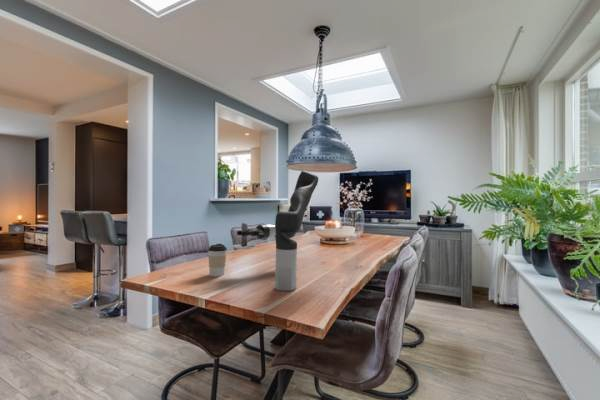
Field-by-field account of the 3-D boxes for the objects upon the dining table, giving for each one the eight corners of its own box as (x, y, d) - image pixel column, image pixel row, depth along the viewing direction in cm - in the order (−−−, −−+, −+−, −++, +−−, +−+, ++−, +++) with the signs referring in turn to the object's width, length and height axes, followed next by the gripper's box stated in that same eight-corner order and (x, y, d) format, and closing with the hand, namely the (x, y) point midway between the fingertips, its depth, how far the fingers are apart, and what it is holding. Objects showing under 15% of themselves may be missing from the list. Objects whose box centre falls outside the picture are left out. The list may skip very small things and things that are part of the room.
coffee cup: (223, 277, 140) (224, 246, 140) (204, 276, 140) (205, 245, 140) (228, 272, 149) (229, 243, 149) (210, 272, 149) (211, 243, 149)
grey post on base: (252, 249, 140) (253, 224, 140) (230, 248, 141) (230, 223, 141) (256, 245, 151) (257, 222, 151) (236, 245, 152) (236, 222, 152)
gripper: (257, 223, 161) (231, 224, 149) (274, 225, 152) (248, 226, 139) (257, 237, 161) (231, 239, 148) (274, 239, 152) (248, 242, 139)
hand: (239, 233), depth 144 cm, fingers closed on grey post on base, 3 cm apart
